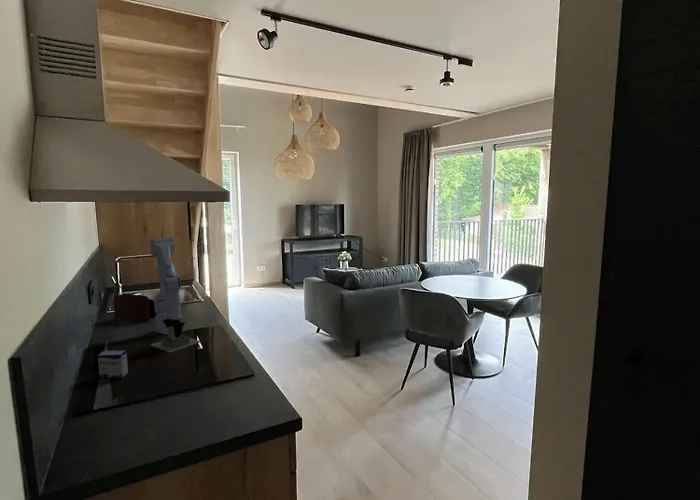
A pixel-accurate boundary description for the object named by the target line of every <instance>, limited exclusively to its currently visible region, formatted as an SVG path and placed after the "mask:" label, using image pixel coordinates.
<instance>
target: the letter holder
mask: <svg viewBox="0 0 700 500" xmlns="http://www.w3.org/2000/svg"><path fill="white" fill-rule="evenodd" d="M154 302H155V300H154V299H151V298H149V297H148V295H143V294H142V295H141V294H133V293H126V294H125V293H124V294H117V295H114V296H113V309H114V320H115V319H118V320H131V321H130V322H142V321H145V322H147V323H149V322H153V321H154V320H155V317H156V314H157V313H156V312H155V305H154ZM118 320H117V321H118Z"/></svg>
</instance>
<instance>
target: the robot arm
mask: <svg viewBox="0 0 700 500" xmlns="http://www.w3.org/2000/svg"><path fill="white" fill-rule="evenodd" d="M175 243H176V241H175V239H174V237H160V238H157V237H156V238H152V237H151V238H150V239H149V247H150V248H149V249H150V254H151V257H154V258H155V259H156V262H157V271H158V283H159V291H160V292H158V293H157V294H156V295H155V296H154V299H153V300H154V301H155V302H154V305H155V312H156V313H157V314H156V317H155V319H154V320H155V329H154V332H156V333H159V334H162V335H168V334H167V328H168V327H172V326H173V329H174V334H175V337H176V338H178V337H181V333H182V332H183V329H184V325H185V323H187V319H186V318H187V317H186V316H184V315H183V314H182V311H181V310H182V309H181V307H182V306H181V296H180V294H181V292H180V290H181V289H182V288H181V287H182V286H181V285H182V284H181V279H180V276H179V274H178V273H177V272H178V271H177V267H176V264H174V263H172V256H173V255H174V253H175V252H174V251H175V248H176V244H175ZM182 334H183V333H182Z"/></svg>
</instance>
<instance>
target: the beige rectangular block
mask: <svg viewBox="0 0 700 500" xmlns="http://www.w3.org/2000/svg"><path fill="white" fill-rule="evenodd" d="M166 335H167V337H168V340H170V341H176V340H179V339H182V335H183V333H181V337H178V338H176V337H175V334H174V329H173V326H172V327H168V328H167V334H166Z"/></svg>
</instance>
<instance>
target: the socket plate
mask: <svg viewBox="0 0 700 500" xmlns="http://www.w3.org/2000/svg"><path fill="white" fill-rule="evenodd" d="M199 343H201V341H200V340H199V339H196V338H192V337H190V336H187V335H183V334H182V339H179V340H176V341H170V340H168V336H167V337H164V338H161V340H160V341H157V342H154V343H151V344H150V347H153V348H156V349H158V350H162V351H164V352H166V353H172V352H176V351H179V350H181V349H184V348H187V347H190V346H193V345H197V344H199Z"/></svg>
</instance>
